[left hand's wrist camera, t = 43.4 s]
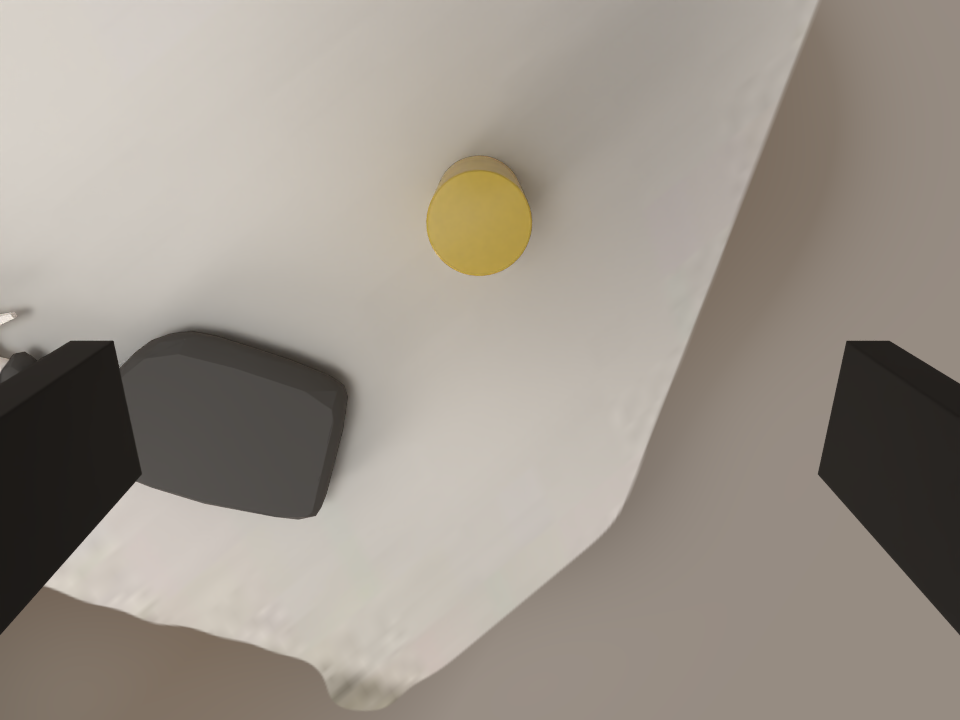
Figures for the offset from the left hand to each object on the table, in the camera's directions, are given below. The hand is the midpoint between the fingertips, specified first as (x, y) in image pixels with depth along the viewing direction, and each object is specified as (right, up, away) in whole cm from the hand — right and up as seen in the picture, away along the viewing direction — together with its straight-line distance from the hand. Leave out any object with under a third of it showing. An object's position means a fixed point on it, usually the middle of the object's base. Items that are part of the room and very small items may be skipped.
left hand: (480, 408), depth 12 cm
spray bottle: (-21, -1, +29) cm, 36 cm away
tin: (0, +10, +25) cm, 27 cm away
